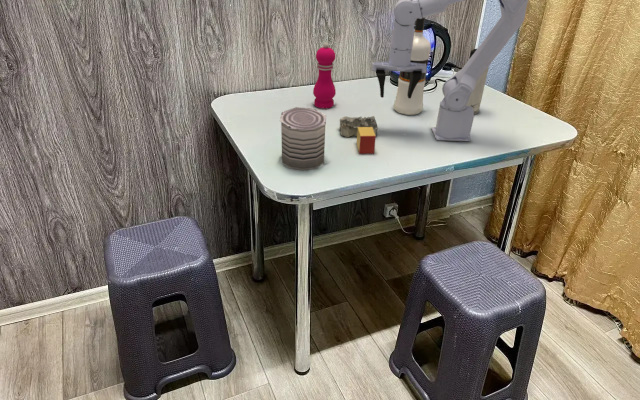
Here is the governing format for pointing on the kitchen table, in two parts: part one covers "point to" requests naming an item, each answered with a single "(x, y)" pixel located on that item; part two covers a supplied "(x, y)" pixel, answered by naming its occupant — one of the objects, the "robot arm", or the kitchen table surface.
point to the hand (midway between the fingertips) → (395, 96)
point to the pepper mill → (324, 78)
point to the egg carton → (356, 125)
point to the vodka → (418, 56)
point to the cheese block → (366, 140)
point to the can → (303, 138)
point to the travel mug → (477, 90)
